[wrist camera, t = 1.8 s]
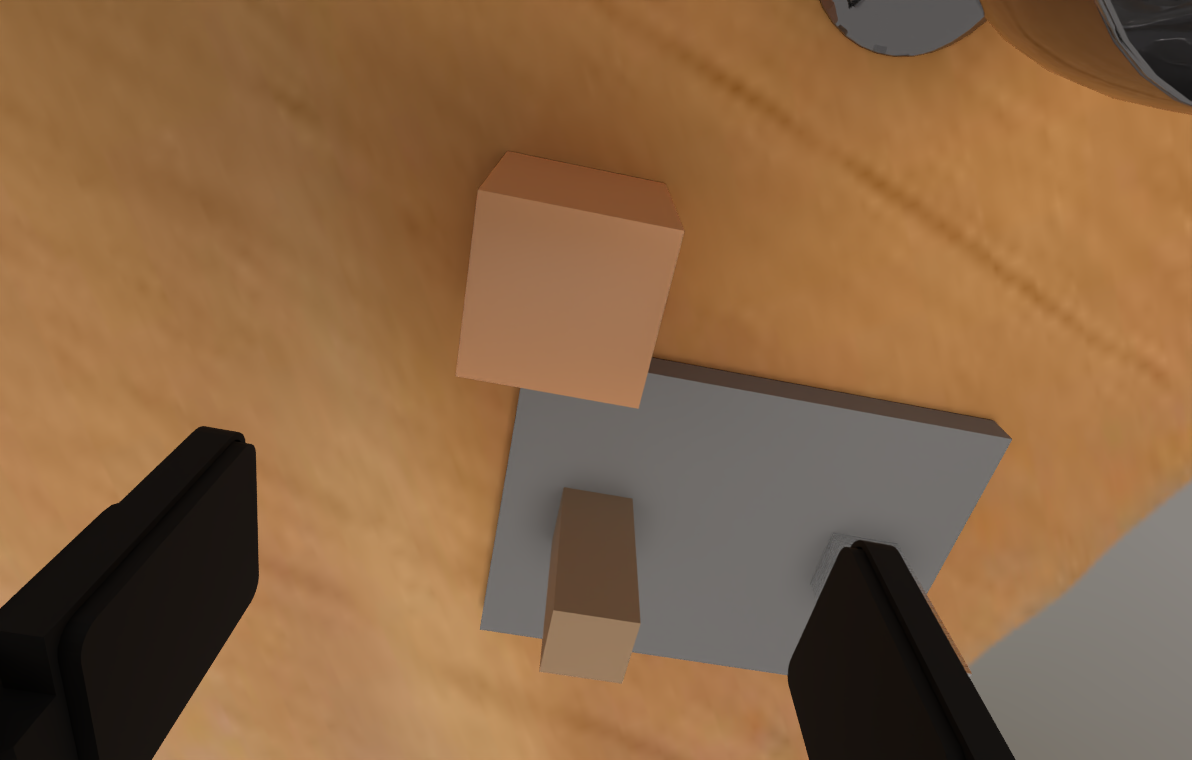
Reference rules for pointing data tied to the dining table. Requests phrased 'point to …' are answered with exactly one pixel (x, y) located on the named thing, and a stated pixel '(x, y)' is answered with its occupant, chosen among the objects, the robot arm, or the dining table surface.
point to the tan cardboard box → (567, 279)
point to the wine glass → (1047, 38)
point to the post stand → (713, 513)
